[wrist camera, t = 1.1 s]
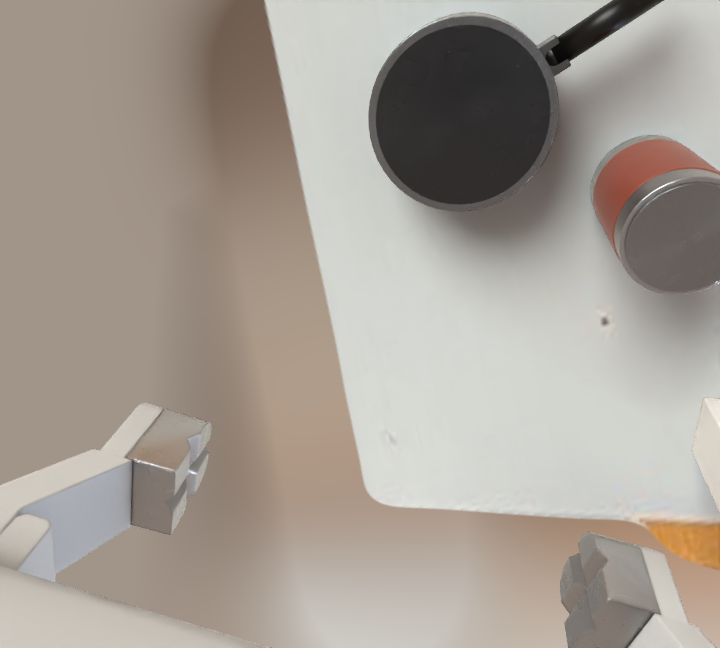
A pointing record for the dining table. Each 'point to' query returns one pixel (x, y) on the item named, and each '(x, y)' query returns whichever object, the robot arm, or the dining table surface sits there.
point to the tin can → (661, 213)
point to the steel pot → (476, 104)
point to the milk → (709, 446)
